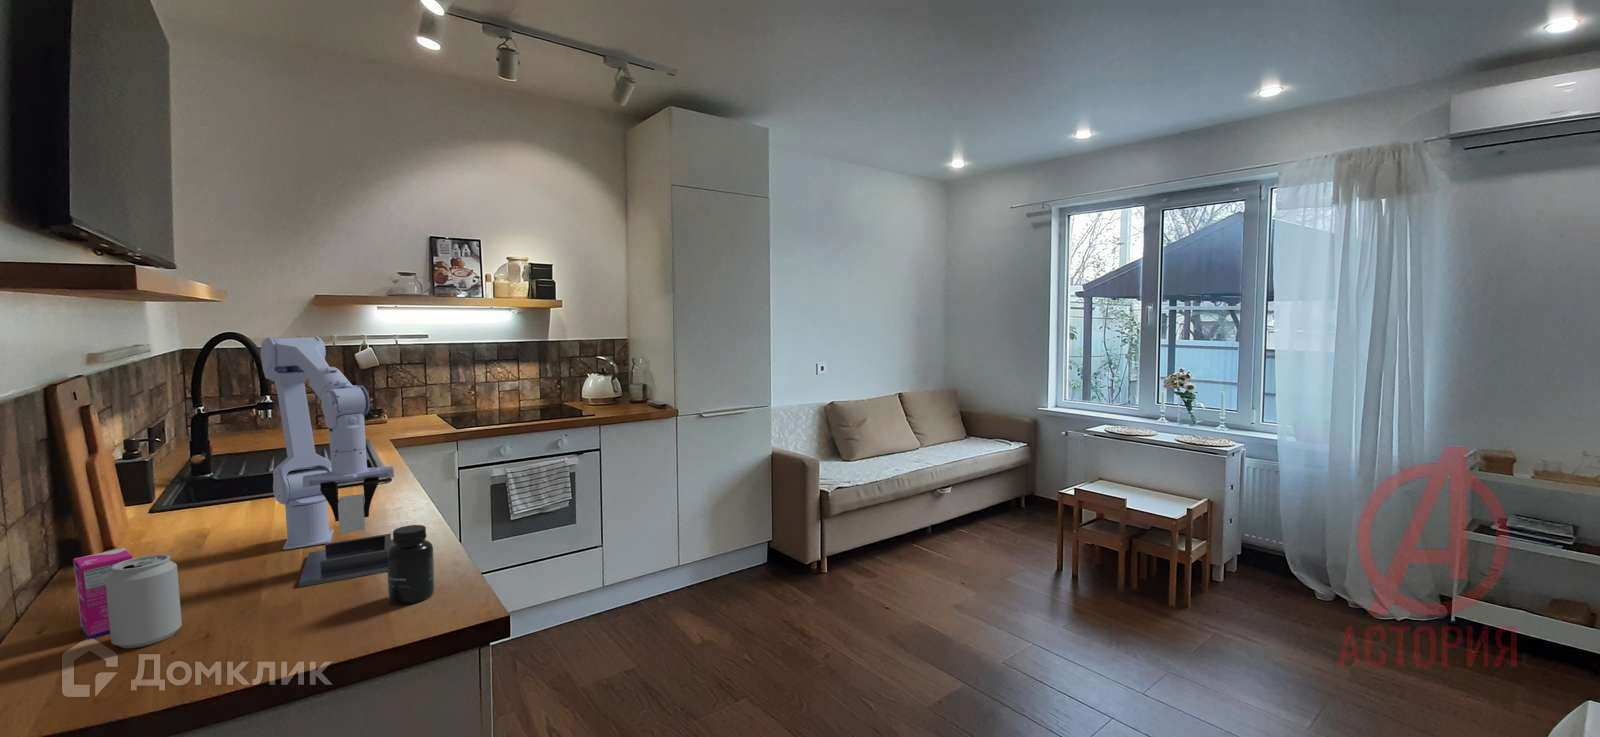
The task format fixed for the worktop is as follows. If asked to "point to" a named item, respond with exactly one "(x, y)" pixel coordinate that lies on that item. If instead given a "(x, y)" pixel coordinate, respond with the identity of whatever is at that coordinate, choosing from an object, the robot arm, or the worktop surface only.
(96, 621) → the supplement box
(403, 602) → the supplement bottle
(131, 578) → the can
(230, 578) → the worktop surface
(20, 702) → the worktop surface
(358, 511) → the block
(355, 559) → the cradle
